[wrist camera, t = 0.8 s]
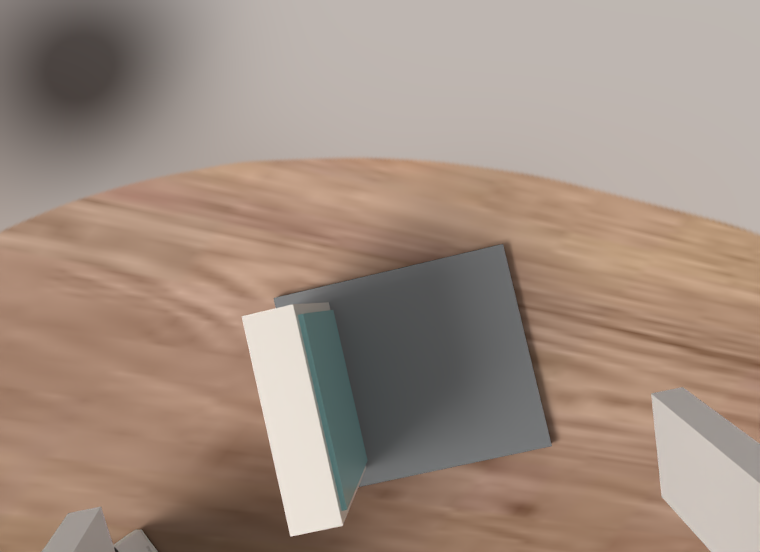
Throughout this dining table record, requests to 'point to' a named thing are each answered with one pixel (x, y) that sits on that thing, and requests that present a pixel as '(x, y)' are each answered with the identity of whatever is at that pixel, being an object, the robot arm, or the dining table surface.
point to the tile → (307, 413)
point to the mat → (436, 364)
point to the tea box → (134, 543)
